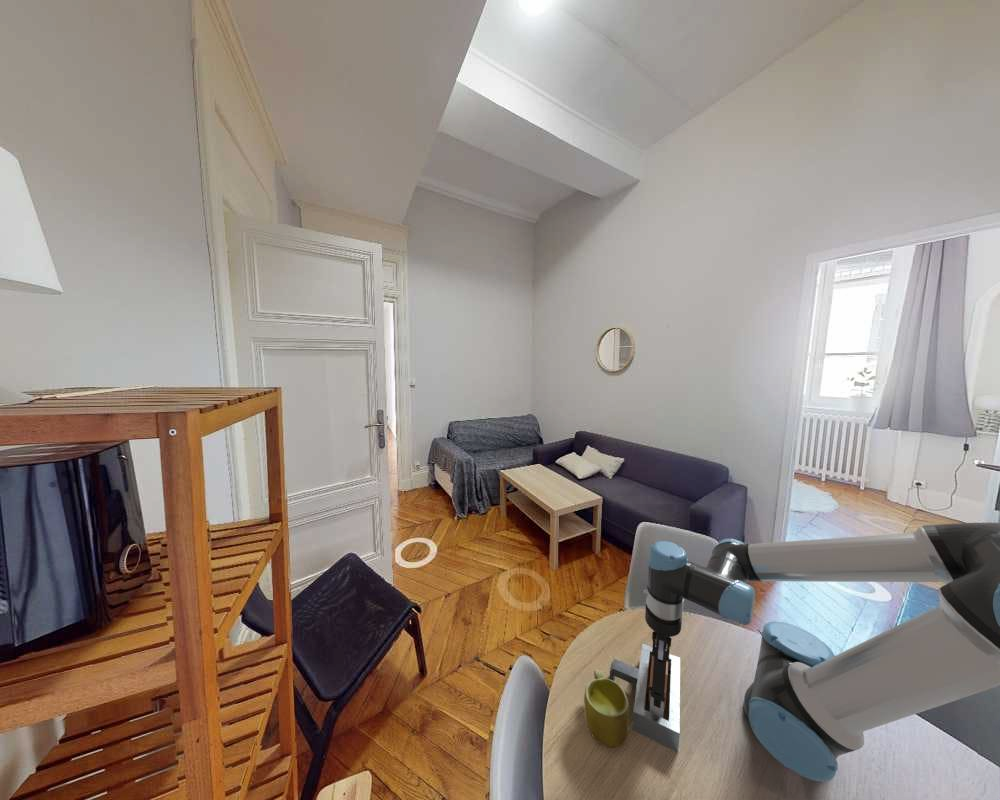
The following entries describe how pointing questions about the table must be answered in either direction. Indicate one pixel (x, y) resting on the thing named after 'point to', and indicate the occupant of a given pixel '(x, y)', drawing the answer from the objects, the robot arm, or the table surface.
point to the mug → (606, 710)
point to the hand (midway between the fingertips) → (658, 688)
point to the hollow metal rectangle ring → (643, 719)
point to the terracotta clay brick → (652, 679)
